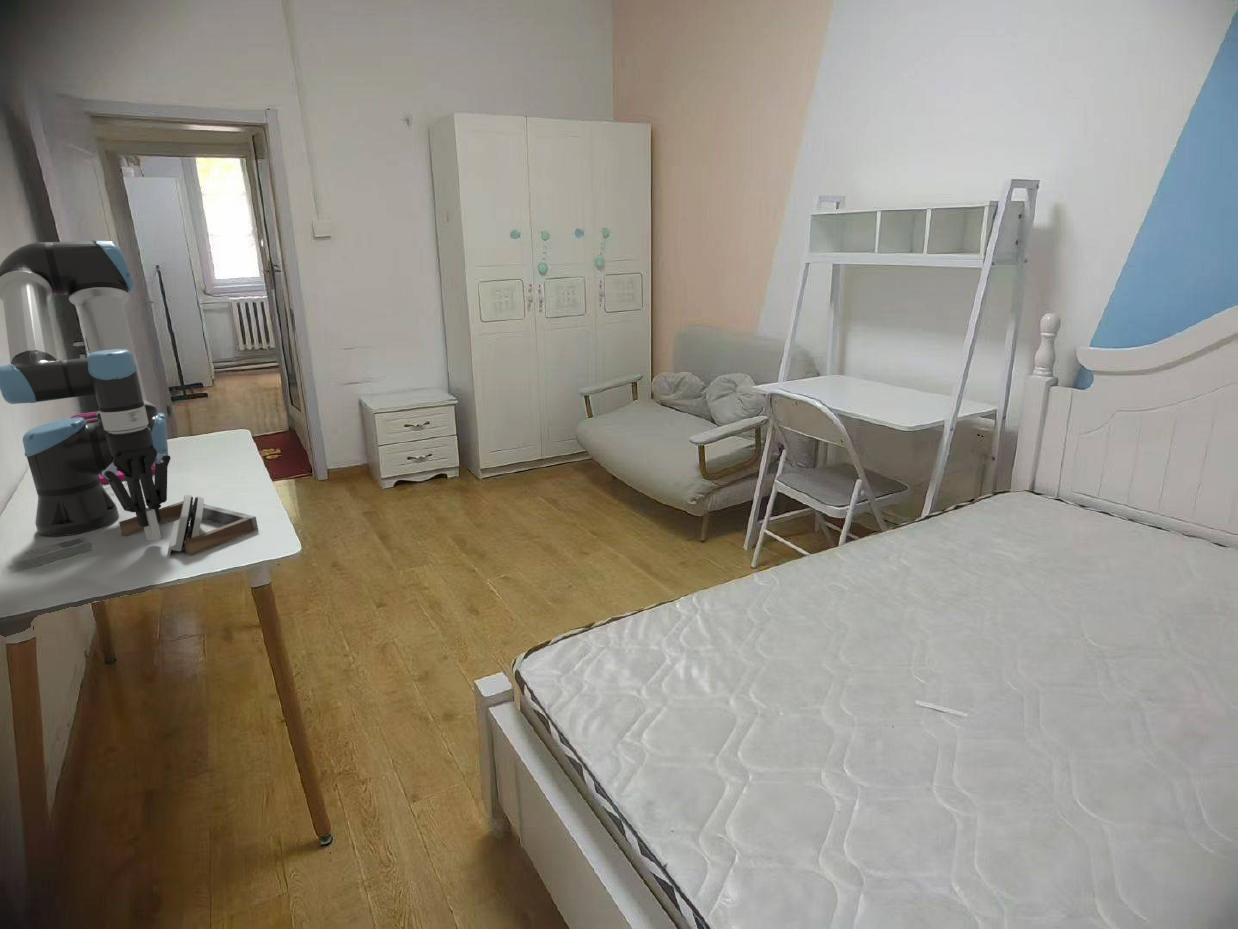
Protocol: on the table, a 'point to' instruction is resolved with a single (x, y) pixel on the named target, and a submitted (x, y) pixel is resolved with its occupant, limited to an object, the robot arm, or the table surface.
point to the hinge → (186, 523)
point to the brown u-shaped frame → (233, 528)
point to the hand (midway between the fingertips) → (154, 538)
